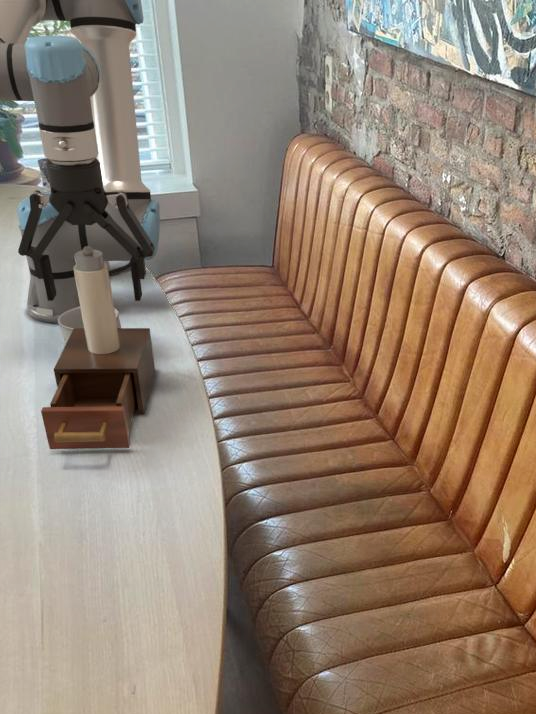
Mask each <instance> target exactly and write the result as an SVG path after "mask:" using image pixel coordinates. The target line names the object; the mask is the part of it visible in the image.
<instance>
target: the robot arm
mask: <svg viewBox="0 0 536 714" xmlns="http://www.w3.org/2000/svg"><path fill="white" fill-rule="evenodd" d="M143 12H144V11H143V6H142V1H141V0H0V102H3V101H5V102H7V101H9V102H12V101H13V102H15V101H16V102H34V107H35V112H36V117H37V121H38V129H39V135H40V140H41V145H42V151H43V156H44V157H45V158H48V159H49V160H48V161H47V163H46V167H47V173H48V178H49V183H50V188H51V191H48V192H44V191H43V192H41V191H40V190H37V189H36V190H34V191H33V192H32V193H31V194H30V195H29V196H28V197H26V198H24V199H23V200H21V201H20V202H19V204H18V205H17V209H16V210H17V217H18V229H19V230H20V234H21V235H20V236H21V240H20V243H19V247H18V250H17V253H18V254H19V255H20V256H22V257H24V256H25V257H26V261H27V265H28V270H29V275H30V276H29V277H30V278H29V286H28V292H27V300H26V301H27V302H26V305H27V310H28V314H29V316H30V317H31V318H33V319H35V320H37V321H40V322H43V323H51V324H52V323H53V324H59V323H58V318H59V317H60V316H61V315H62V314H63V313H65V312H66V311H69V310H71V309H74V308H77V307H80V303H79V297H78V292H77V286H76V281H75V275H74V270H73V267H74V266H75V265H76V262H75V256H74V255H75V253H76V252H79V251H82V250H83V248H84V247H85V246H89V247H91V248H92V249H93V250H98V251H101V252H102V254H103V260H104V261H109V262H128V263H126V264H125V265H122V266H119V267H115V268H112V269H110V270H109V276H111V275H114V274H117V273H120V272H124V271H127V270H129V269H130V274H131V280H132V286H133V287H132V288H133V296H134V301H135V302H140V301H141V299H142V297H143V289H142V282H141V280H145V277H146V274H147V269H146V261H150V260H153V259H154V258H155V257H156V255H157V254H158V248H159V241H160V240H159V239H160V227H161V214H160V210H161V209H160V203H159V201H158V200H157V199H154V198H153V199H152V196H151V194H152V193H151V189H150V188H148V187H147V186H146V184H144V182H143V181H142V171H141V161H140V151H139V139H138V128H137V127H138V126H137V117H136V106H135V97H134V96H135V95H134V84H133V73H132V65H131V64H132V63H131V53H130V51H131V50H130V46H131V45H130V44H131V43H132V42H133V40H135V38H136V37H137V27H136V26H137V25H138V26H139V25H141V24H143V23H144V13H143ZM41 21H60V22H69V25H70V32H71V33H72V35H73V36H74V37H72V36H68V35H37V36H31V37H29V35H30V33H31V30H32V28H33V27H34V26H36V25H38V24H39V23H40V22H41Z"/></svg>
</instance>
